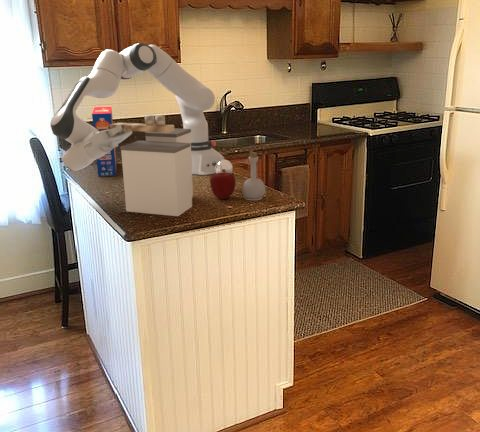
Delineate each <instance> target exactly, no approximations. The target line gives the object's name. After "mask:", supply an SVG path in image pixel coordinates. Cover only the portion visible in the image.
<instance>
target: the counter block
mask: <svg viewBox="0 0 480 432" xmlns="http://www.w3.org/2000/svg"><path fill="white" fill-rule="evenodd" d="M190 132H191V129H183V128H179V127H178V128H177V127H176V128H175V127H174V131H172V132H169V133H163V132H144V137H145V140H136V141H133V142H130V143H127V144H123V145H121V146H119V149H120V153H121V164H122V174H123V175H122V176H123V186H124V187H123V188H124V200H125V201H124V202H125V212H131V213H141V214H150V215H160V216H161V215H162V216H170V217H172V216H173V217H179V216H180V215H182V214H184V213H185V212H186V211H188V210H189V209H191V208H192V207H193V198H194V187H193V186H194V185H193V174H192V160H191V136H190Z"/></svg>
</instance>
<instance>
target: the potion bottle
mask: <svg viewBox="0 0 480 432" xmlns="http://www.w3.org/2000/svg"><path fill="white" fill-rule="evenodd" d="M257 154H258V153H257V152H255V151H252V150H250V151H249V156H248V161H249V164H250V178H247V179H245V181H244V183H243V185H242V188H241V192H242V196H243V197H244V200H247V201H251V202H252V201H253V202H255V201H261V200H263V197H264V196H265V194H266V186H265V183H264V182H263V180H262V179H261V178H257V163H258V161H259V156H258V155H257Z"/></svg>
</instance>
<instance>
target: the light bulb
mask: <svg viewBox="0 0 480 432" xmlns="http://www.w3.org/2000/svg"><path fill="white" fill-rule="evenodd" d="M233 169H234V168H233V164H232V163H231V161H229V160H228V159H225V160H220V161H219V162H218V163H217V164H216V167H215V170H216V173H223V172H227V173H231V174H233ZM216 173H215V174H216Z"/></svg>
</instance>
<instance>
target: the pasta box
mask: <svg viewBox="0 0 480 432" xmlns="http://www.w3.org/2000/svg"><path fill="white" fill-rule="evenodd" d="M91 117H92V126H93V127H95V128H96V129H97V130H98V131H104V130H107V129H110V124H114V119H113V110H112V106H94V107H93V109H92V113H91ZM96 166H97V169H96V170H97V177H111V176H112V177H114V176H117V154H116V148H114V149H112V150H111V151H110V152H109V153H107V154H105V155H104V156H102V157H101V158H99V159H96Z"/></svg>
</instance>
